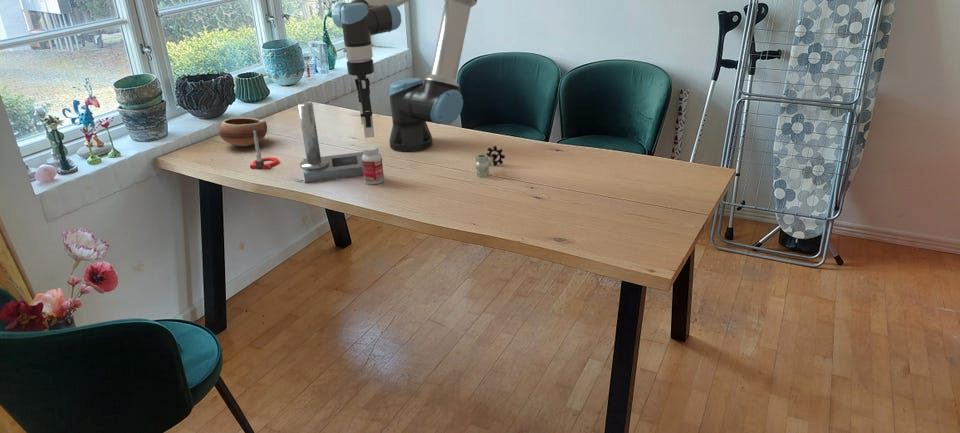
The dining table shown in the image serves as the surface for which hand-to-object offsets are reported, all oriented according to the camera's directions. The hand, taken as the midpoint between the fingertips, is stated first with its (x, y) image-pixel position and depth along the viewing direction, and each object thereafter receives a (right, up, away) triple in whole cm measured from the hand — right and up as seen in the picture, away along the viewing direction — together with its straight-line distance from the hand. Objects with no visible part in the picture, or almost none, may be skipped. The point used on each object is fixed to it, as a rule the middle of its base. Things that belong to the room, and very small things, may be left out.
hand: (367, 130), depth 205 cm
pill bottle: (+1, -15, +7) cm, 17 cm away
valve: (+36, -12, +11) cm, 40 cm away
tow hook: (-39, -8, +25) cm, 47 cm away
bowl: (-52, 0, +44) cm, 68 cm away
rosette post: (-13, -11, +16) cm, 24 cm away
